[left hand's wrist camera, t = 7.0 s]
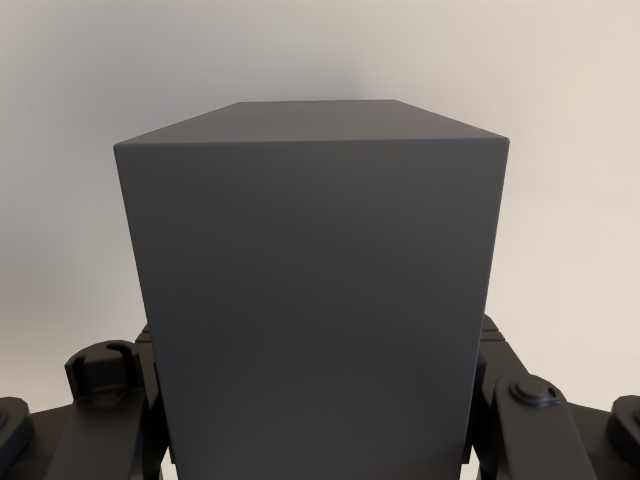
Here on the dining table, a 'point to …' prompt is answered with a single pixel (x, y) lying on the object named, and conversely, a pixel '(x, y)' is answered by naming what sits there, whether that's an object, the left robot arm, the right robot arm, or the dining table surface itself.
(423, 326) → the bar
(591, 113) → the dining table surface
